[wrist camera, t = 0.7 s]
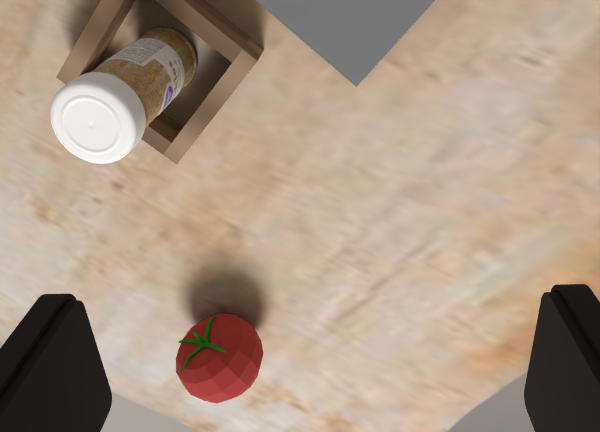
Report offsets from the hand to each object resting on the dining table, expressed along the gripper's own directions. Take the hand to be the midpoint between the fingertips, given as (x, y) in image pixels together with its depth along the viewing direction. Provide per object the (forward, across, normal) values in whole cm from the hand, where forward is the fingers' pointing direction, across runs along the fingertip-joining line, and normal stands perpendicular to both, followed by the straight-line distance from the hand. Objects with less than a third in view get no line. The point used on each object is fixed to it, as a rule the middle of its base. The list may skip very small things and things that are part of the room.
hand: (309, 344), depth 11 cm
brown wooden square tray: (+31, +12, +1) cm, 33 cm away
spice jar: (+31, +11, +1) cm, 33 cm away
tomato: (+32, +10, +26) cm, 43 cm away
